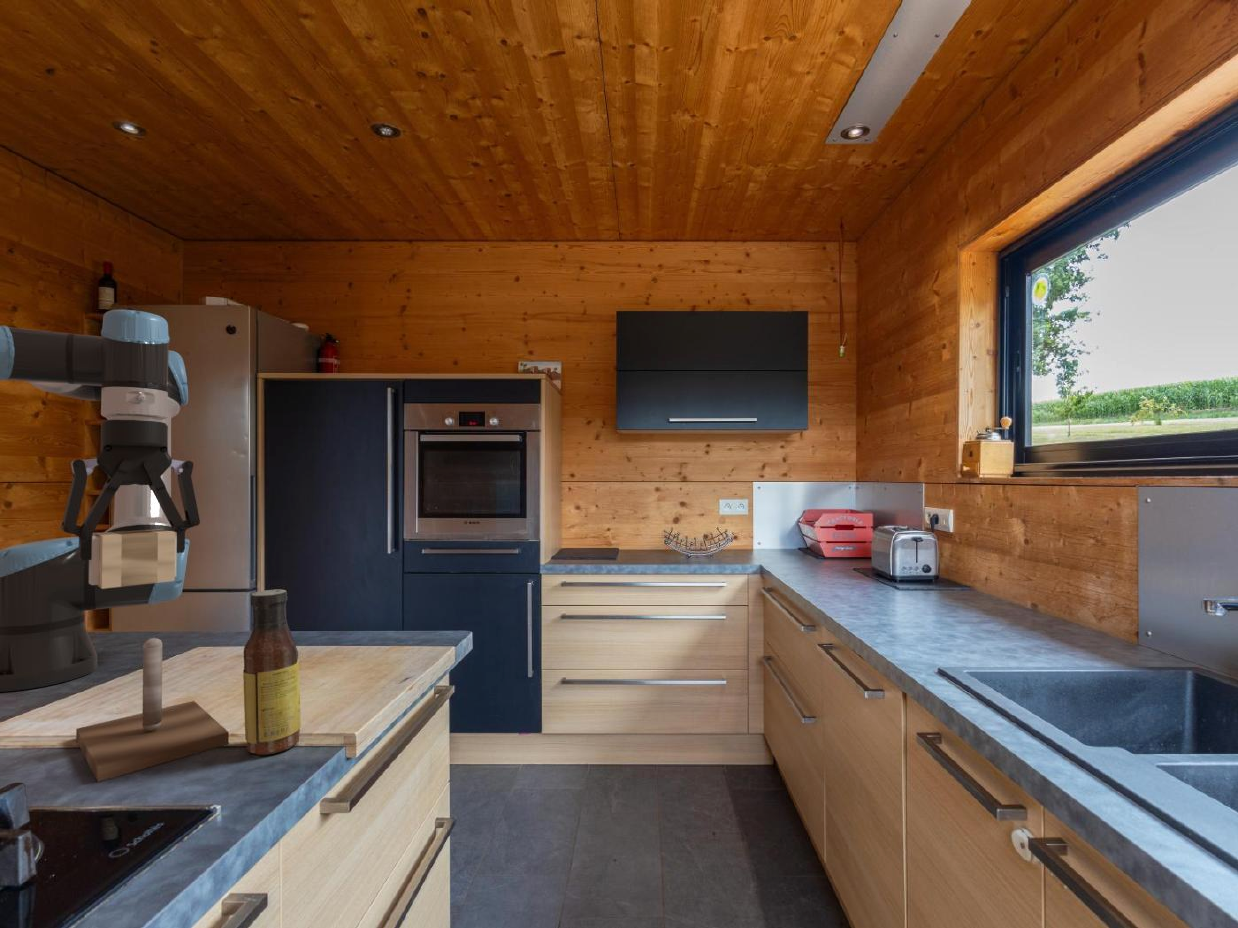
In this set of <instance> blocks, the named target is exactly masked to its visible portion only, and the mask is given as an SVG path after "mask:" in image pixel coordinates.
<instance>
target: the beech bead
mask: <svg viewBox="0 0 1238 928" xmlns="http://www.w3.org/2000/svg"><path fill="white" fill-rule="evenodd" d="M92 536H99V585H97V586H99V587H100V588H102V589H104V588H113V587H122V586H132V585H141V584H150V583H160V582H169V581H175V532H173V531H168V530H163V529H156V530H138V531H120V532H105V531H103V532H93V533H92Z"/></svg>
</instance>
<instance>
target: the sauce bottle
mask: <svg viewBox="0 0 1238 928" xmlns="http://www.w3.org/2000/svg"><path fill="white" fill-rule="evenodd" d="M287 601H288V592H287V590H285V589H276V588H275V589H268V590H267V589H266V590H259V591H256V592H253V593H251V595H250V605H251V607H252V616H253V617H252V618H253V620H252V631H251V634H250V636H249V638H248V640H247V642H246V644H245V646H244V648H243V670H242V671H243V672H242V673H243V674H242V675H243V676H242V677H243V702H244V704H243V705H244V706H243V708H244V731H245V732H244V733H245V736H244V737H245V739H244V740H245V741H246V750H247V752H248V753H250V754H254V755H258V756H264V755H265V756H266V755H267V756H268V755H273V754H277V753H278V754H279V753H281V752H285V751H287V750H289V749H290V748H292V747H294V746H295V745H297V744H298V742H300V731H301V727H302V725H301V724H302V722H301V721H302V720H301V718H302V716H301V715H302V714H301V713H302V712H301V692H300V691H301V690H300V687H301V686H300V684H301V683H300V664H299V663H300V661H299V651H298V648H297V646H296V643H295V641H294V638H293V635H292V632H291V629H290V627H289V624H288V620H287Z"/></svg>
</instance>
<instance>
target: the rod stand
mask: <svg viewBox="0 0 1238 928" xmlns="http://www.w3.org/2000/svg"><path fill="white" fill-rule="evenodd" d="M75 731H76V732H75V733H76V736H75V737H76V738H75V739H77V741H76V742H77V744H78V747H79V748H80V750H81V752H82V754H83V756H84V758H85V760H86V762H87V764H88V766H89V768H90V769H91V771H92V774H93V776H94V778H95V780H97V783H100V782H103V781H106V780H109V779H113V778H117V777H119V776H122V775H127V774H130V773H133V772H137V771H141V770H143V769H148V768H150V767H153V766H157V765H160V764H161V765H162V764H163V763H164V764H165V763H167V762H171V761H174V760H177V759H181V758H185V757H188V756H191V755H195V754H197V753H203V752H205V751H209V750H212V749H215V748H219V747H222V746H226V745H229V735H230V734H229V733H230V732H229V730H227V729H226V728H225V727H224V726H223V725H222V724H220V723H219V722H218V721H216V719H215V718H214V717H212V715H210V714H209V713H208V712H207V711H206V710H205V709H204V708H202V707H201V706H200V705H199V704H198V703H197V702H196V701H195V700H191V701H188V702H187V701H186V702H183V703H179V704H174V705H170V706H166V707H163V642H162V640H161V639H160V638H155V637H151V638H149V639H147V640H146V641H145V642H144V643H143V646H142V713H137V714H133V715H128V716H125V717H120V718H115V719H112V720H107V721H102V722H99V723H94V724H90V725H87V726H82V727H78V728H76V730H75Z"/></svg>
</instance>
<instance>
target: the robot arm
mask: <svg viewBox="0 0 1238 928" xmlns="http://www.w3.org/2000/svg"><path fill="white" fill-rule="evenodd" d="M100 335H101V336H99V335H88V334H80V333H79V334H78V333H66V332H58V331H56V332H54V331H48V330H38V329H30V328H29V329H28V328H19V327H12V326H11V327H9V326H7V325H0V381H13V382H14V381H15V382H16V381H17V382H26V383H29V384H30V386H31V385H32V386H33V387H34V388H37V390H40V391H43V392H47V393H50V394H51V393H52V394H55V395H58V396H63V397H67V398H73V399H79V400H84V401H91V402H92V401H93V402H94V401H95V402H101V406H100V407H101V408H100V415H101V416H102V417H104V418H106V419H105V420H103V421H102V422H101V423H100V451H99V452H98V454H97V456H96V457H95V458H89V459H80V458H79V459H74V460H72V461H70V468H71V472H72V473H71V474H72V480H71V484H70V489H69V493H68V495H67V496H68V497H67V502H66V506H65V508H64V509H65V510H64V513H63V518H62V520H61V521H62V522H61V526H60V530H61V531H62V532H64V533H67V534H71V535H75V536H70V537H69V536H68V537H60V538H53V539H52V538H51V539H45V540H40V541H39V540H38V541H33V542H27V543H23V544H22V543H21V544H17V545H16V544H15V545H12V546H8V547H4V548H3V549H0V692H2V693H3V692H4V693H5V692H14V691H24V690H31V689H38V688H42V687H47V686H48V687H49V686H51V685H56V684H61V683H64V682H69V681H71V680H75V679H79V678H81V677H84V676H86V675H89V674H90V673H93V672H94V671H96V670H97V669H98V654H97V651H96V649H95V647H94V644H93V642H92V639H91V637H90V635H89V633H88V630H87V628H86V623H85V621H86V620H85V617H86V616H85V615H86V612H85V611H93V610H102V609H103V610H104V609H112V608H123V607H133V606H134V607H135V606H142V605H148V606H152V605H154V604H159V603H166V602H172V601H174V600H177V599H179V597H180V596H181V595H182V593H183V588H184V582H185V578H186V577H185V575H186V570H187V562H188V558H189V557H188V555H189V551H190V550H189V549H190V543H191V542H190V539H188V538H186V532H187V530H188V529H189V530H190V529H191V528H193V527H197V526H200V523H201V520H200V514H199V509H198V505H197V504H198V503H197V500H196V495H195V489H194V484H193V479H192V475H193V470H194V463H193V461H191V460H179V459H178V460H177V459H172V419H173V418H174V417H176V416H177V415H178V414H179V413H180V411H181V407H184V406H187V405H188V402H189V389H188V387H189V386H188V378H187V373H186V366H185V363H184V360H183V359H184V358H183V357H182V356H181V354H179V352H177V351H174V350H170V348H169V347H170V346H169V343H170V340H171V338H170V335H169V324H168V321H167V320H166V319H165V318H164V317H162V316H161V315H159V314H154V313H151V312H146V311H141V310H134V309H133V310H132V309H111V310H108V311H106V312H105V313H104V314H103V317H102V328H101V329H100ZM95 467H98V468H99V469H100V470H101V471H102V472H103V474H105V475H106V476H107V480H106V481H105V483H104V484H103V486H102V489H101V491H100V493H99V495H98V496H97V498H96V499H95V501H94V503H93V505H92V507H91V508H90V510H89V512H88V514H87V515H86V517H85V519H84V520H83V522H82V524H81V525H77V523H78V519H79V514H80V510H81V506H82V502H83V497H84V493H85V490H86V487H87V486H86V484H87V480H88V475H91V474H92V473H93V472H94V469H95ZM172 471H173V474H175V475H177V482H178V488H179V493H180V497H181V502H182V507H183V513H184V517H185V519H184V520H183V518H182V516H181V514H180V512H179V511H178V509H177V507H176V505H175V503H174V501H173V499H172ZM113 498H114V510H113V511H114V513H113V525H112V526H111V527H109V528H108V529H107V530H105V531H104V532H120V531H138V530H156V529H163V530H168V531H173V532H175V581H169V582H160V583H150V584H141V585H132V586H122V587H113V588H104V589H102V588H100V587H99V586H97V585H99V536H93V533H95V531H96V528H97V527H98V525H99V523H100V522H101V520H102V518H103V516H104V514H105V513H106V511H107V508H108V507H109V505H110V504H111V501H112V500H113Z"/></svg>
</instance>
